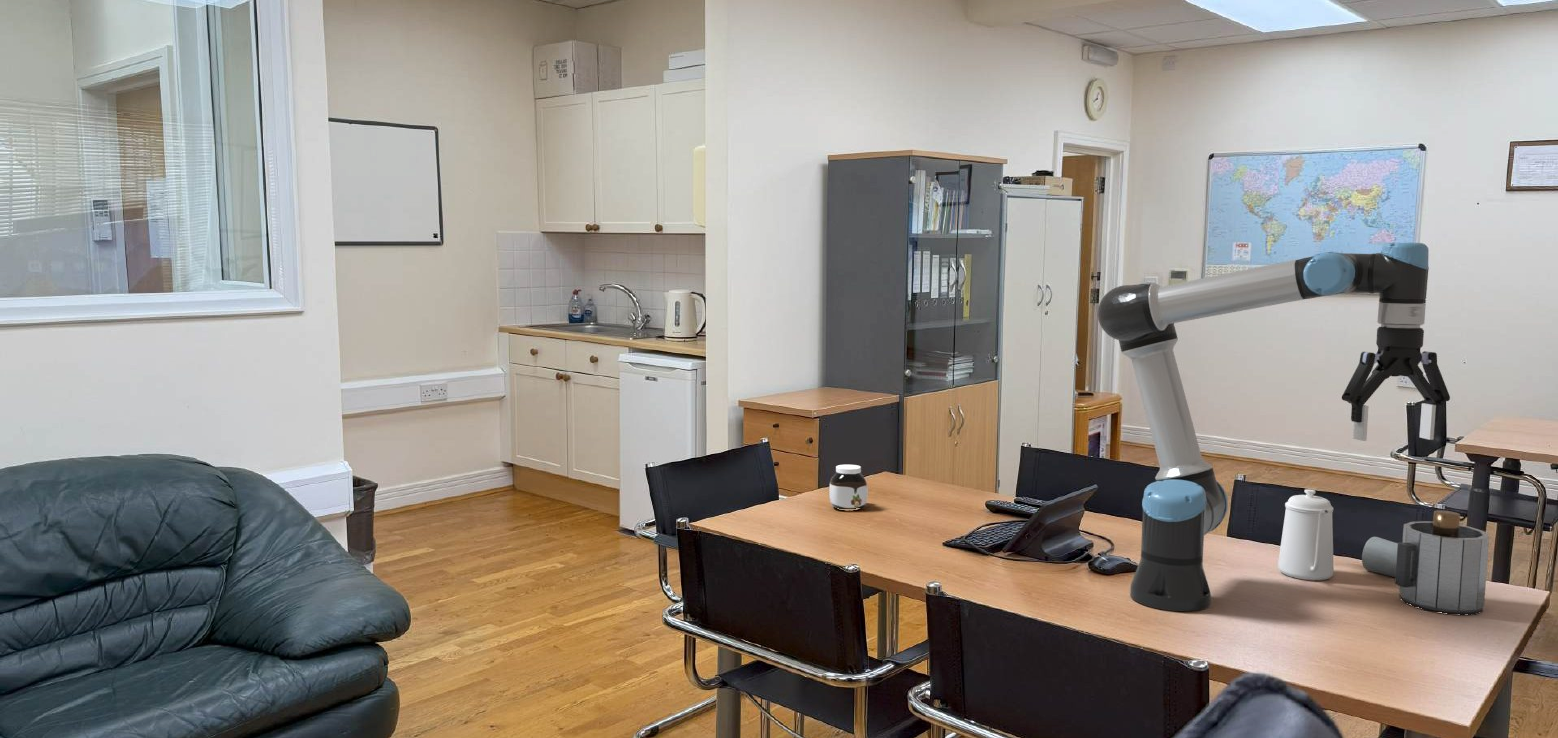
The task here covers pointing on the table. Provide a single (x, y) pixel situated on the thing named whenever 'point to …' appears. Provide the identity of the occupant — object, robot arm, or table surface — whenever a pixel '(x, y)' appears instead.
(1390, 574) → the ceramic mug
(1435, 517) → the plunger
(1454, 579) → the grey panelled tankard
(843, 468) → the spread jar
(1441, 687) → the table surface
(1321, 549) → the coffeepot
